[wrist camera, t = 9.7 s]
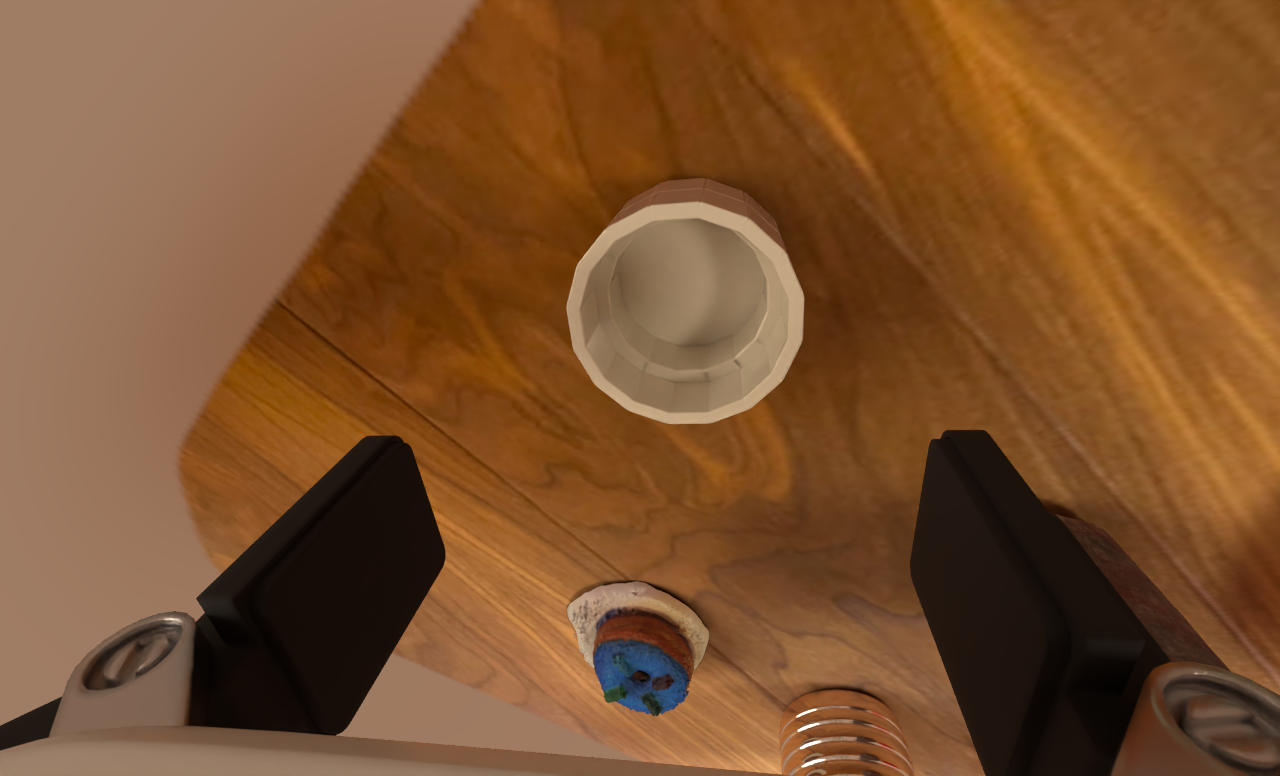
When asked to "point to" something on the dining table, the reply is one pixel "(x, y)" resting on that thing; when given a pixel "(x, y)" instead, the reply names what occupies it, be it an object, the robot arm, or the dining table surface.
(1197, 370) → the dining table surface
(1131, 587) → the candle
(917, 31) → the dining table surface
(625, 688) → the dessert
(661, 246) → the bowl
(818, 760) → the water bottle
